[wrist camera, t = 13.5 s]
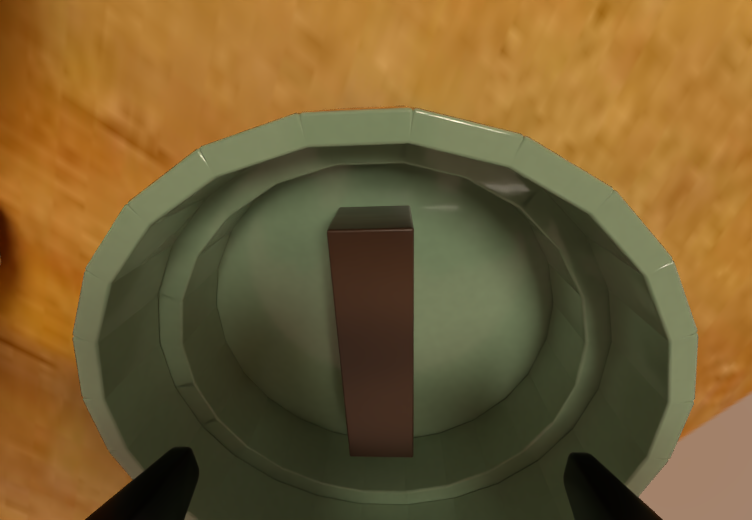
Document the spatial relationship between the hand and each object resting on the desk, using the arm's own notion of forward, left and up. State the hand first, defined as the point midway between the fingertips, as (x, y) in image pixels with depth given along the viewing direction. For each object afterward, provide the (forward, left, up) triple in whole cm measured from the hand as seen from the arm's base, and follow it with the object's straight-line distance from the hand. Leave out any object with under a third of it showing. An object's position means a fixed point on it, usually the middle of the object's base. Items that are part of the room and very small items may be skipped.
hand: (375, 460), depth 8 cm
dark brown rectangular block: (0, 0, -6) cm, 6 cm away
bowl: (0, 0, -6) cm, 6 cm away
